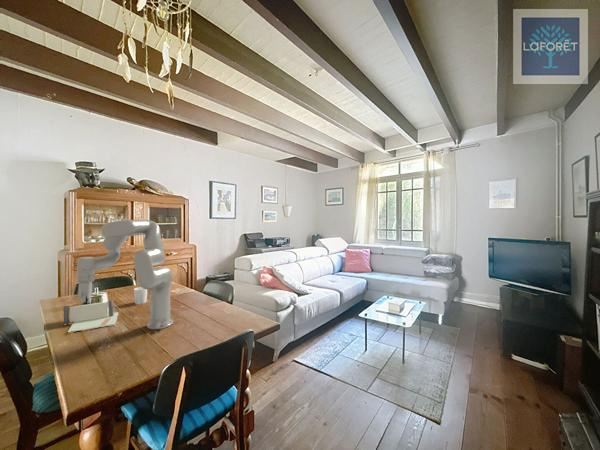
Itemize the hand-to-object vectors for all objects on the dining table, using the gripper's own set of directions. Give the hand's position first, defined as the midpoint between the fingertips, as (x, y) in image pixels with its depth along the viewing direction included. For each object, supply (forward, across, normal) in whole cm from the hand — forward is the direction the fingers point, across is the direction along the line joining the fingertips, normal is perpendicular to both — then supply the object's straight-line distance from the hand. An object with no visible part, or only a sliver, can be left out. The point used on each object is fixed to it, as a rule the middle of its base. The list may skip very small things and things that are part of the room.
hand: (86, 309), depth 139 cm
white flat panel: (+3, +6, +2) cm, 7 cm away
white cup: (+5, -15, +26) cm, 30 cm away
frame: (+5, +11, +4) cm, 12 cm away
